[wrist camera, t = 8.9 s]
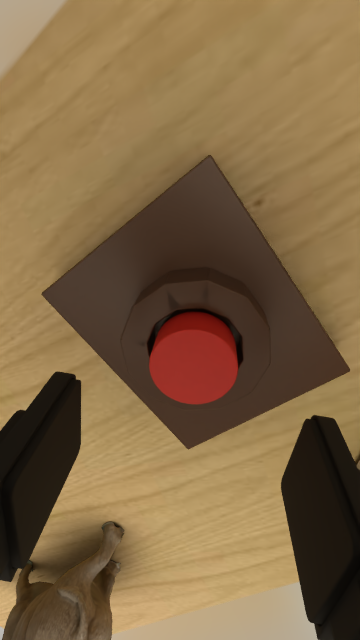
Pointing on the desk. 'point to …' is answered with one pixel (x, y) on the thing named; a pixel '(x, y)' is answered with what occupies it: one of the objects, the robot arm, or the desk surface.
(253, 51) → the desk surface
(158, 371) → the power button
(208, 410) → the button housing
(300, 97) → the desk surface
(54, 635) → the rhinoceros figurine
